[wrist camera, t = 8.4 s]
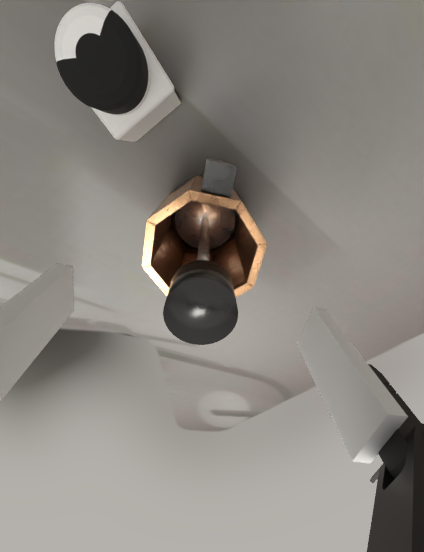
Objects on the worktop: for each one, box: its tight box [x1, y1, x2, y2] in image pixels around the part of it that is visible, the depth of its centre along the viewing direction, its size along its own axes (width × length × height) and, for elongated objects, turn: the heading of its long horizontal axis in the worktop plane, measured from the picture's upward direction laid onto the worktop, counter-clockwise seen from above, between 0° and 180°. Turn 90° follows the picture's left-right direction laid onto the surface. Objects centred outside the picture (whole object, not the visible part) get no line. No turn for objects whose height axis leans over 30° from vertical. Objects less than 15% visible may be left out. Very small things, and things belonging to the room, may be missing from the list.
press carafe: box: [142, 157, 267, 297], centre depth 28 cm, size 10×12×14 cm
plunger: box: [163, 200, 238, 345], centre depth 24 cm, size 8×8×22 cm
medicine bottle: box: [54, 1, 181, 142], centre depth 23 cm, size 7×7×12 cm
